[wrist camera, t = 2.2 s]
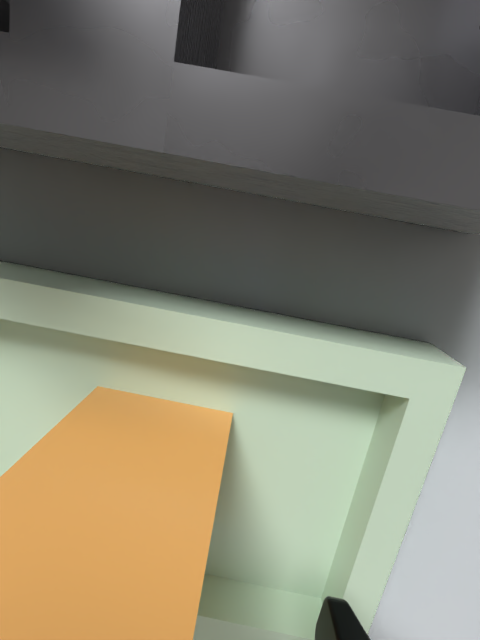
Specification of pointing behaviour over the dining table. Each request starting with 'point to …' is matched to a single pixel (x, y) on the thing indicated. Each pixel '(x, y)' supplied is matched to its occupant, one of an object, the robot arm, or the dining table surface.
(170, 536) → the plug
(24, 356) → the tray
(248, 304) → the dining table surface
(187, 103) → the strip
